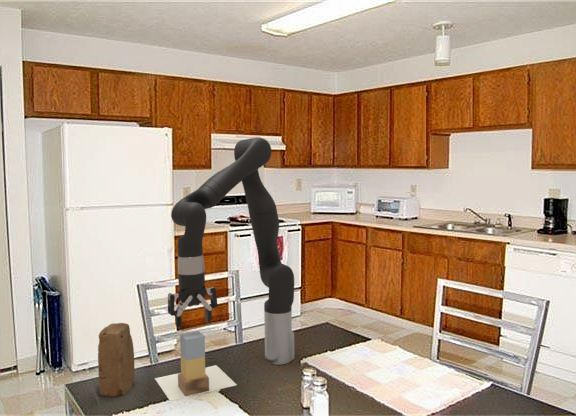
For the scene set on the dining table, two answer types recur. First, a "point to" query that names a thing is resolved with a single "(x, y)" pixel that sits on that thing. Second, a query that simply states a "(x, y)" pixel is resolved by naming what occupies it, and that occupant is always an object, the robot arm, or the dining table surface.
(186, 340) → the brick blue
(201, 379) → the base block
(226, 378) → the board
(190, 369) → the brick ochre
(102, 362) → the block
